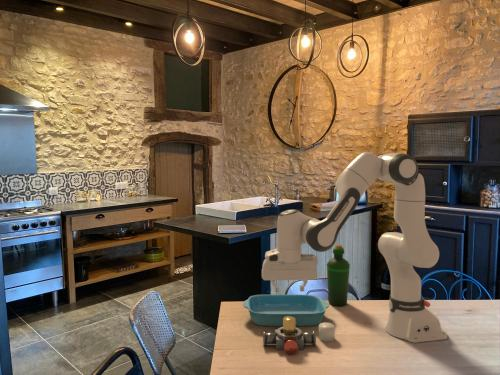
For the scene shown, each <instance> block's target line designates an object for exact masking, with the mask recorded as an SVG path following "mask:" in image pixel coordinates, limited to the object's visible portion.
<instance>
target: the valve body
mask: <svg viewBox="0 0 500 375" xmlns="http://www.w3.org/2000/svg"><path fill="white" fill-rule="evenodd" d="M262 344H263V346H266V345H275V349H276V351H284V352H285V353H286V354H287V355H291V356H292V355H295V354H296V353H297V352H298V351H304V350H305V347H304V346H305V345H312V346H316V344H317V338H316V331H315V330H312V331H311V332H309V331H308V332H307V331H306V332H305V331H304V332H302V329H300V328H299V327H296V334H295V335H284V334H283V326H279V328H277V329H274V332H266V331H263V332H262Z"/></svg>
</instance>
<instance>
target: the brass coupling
mask: <svg viewBox="0 0 500 375" xmlns="http://www.w3.org/2000/svg"><path fill="white" fill-rule="evenodd" d="M282 327H283V334H284V335H295V334H296V328H297V326H296V319H295V318H294V317H291V316H287V317H284V318H283V326H282Z"/></svg>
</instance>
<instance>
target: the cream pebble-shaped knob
mask: <svg viewBox="0 0 500 375" xmlns="http://www.w3.org/2000/svg"><path fill="white" fill-rule="evenodd" d="M335 328H336V326H335V325H334V323H331V322H320V323H319V324H318V339H319V340H320V341H321V342H324V343H331V342H334V341H335V337H336V336H335V332H336V329H335Z"/></svg>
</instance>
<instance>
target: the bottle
mask: <svg viewBox="0 0 500 375" xmlns="http://www.w3.org/2000/svg"><path fill="white" fill-rule="evenodd" d="M332 253H333V257H331V259H329V260H328V261H327V262H326V271H327V272H326V275H327V279H326V280H327V298H328V304H330V305H332V306H335V307H344V306H346V305H347V304H348V292H349V279H350V268H351V266H350V265H351V264H350V262H349V261H348V260H347V259H345V258H344V255H345V249H344V247H343V244H338V243H337V244H336V243H335V244H334V246H333V247H332Z"/></svg>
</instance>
